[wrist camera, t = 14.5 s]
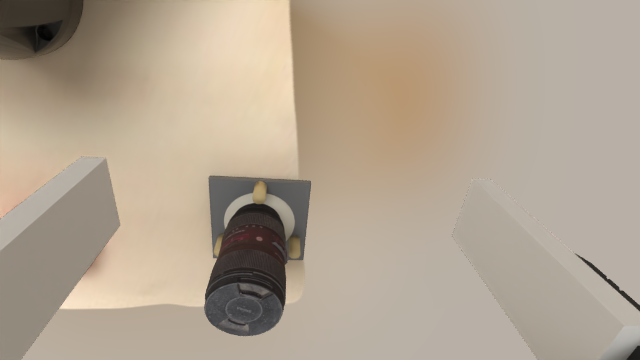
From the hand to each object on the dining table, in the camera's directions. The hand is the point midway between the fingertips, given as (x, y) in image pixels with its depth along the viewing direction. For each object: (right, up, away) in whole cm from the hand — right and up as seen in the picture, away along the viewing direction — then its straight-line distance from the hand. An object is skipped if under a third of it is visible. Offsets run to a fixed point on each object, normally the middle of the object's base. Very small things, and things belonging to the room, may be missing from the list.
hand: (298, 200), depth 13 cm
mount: (-8, -5, +35) cm, 36 cm away
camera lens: (-8, -5, +34) cm, 35 cm away
